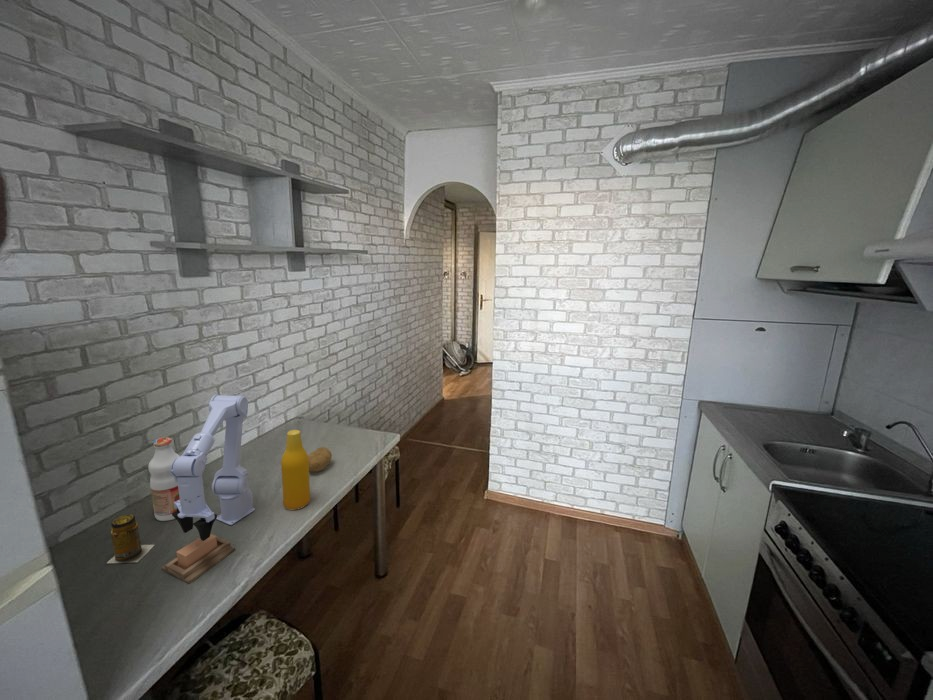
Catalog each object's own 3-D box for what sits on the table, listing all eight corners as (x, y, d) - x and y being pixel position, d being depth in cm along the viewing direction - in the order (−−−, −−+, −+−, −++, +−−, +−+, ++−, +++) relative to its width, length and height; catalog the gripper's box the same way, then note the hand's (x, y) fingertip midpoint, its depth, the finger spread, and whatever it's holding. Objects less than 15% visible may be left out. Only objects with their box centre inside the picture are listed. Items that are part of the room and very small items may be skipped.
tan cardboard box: (208, 546, 118) (207, 532, 117) (217, 550, 117) (216, 536, 116) (178, 566, 110) (176, 551, 109) (187, 571, 109) (185, 556, 108)
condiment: (125, 545, 118) (119, 512, 115) (155, 545, 118) (150, 511, 116) (106, 564, 111) (99, 528, 108) (137, 563, 111) (131, 528, 109)
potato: (298, 475, 160) (297, 458, 158) (316, 459, 173) (316, 443, 172) (319, 479, 158) (318, 462, 157) (336, 462, 172) (336, 446, 170)
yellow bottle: (311, 507, 140) (308, 435, 134) (283, 513, 136) (279, 440, 130) (309, 493, 148) (306, 425, 142) (283, 499, 144) (279, 429, 138)
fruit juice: (157, 509, 134) (146, 437, 128) (189, 501, 139) (181, 432, 133) (152, 525, 127) (141, 449, 120) (187, 516, 132) (178, 443, 125)
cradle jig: (208, 538, 122) (208, 532, 122) (235, 550, 118) (234, 544, 118) (161, 569, 110) (160, 562, 109) (189, 584, 106) (188, 577, 105)
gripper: (160, 495, 108) (166, 535, 111) (194, 509, 103) (200, 551, 106) (186, 482, 114) (191, 521, 117) (219, 495, 109) (223, 535, 112)
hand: (196, 534), depth 112 cm, fingers open, 7 cm apart
